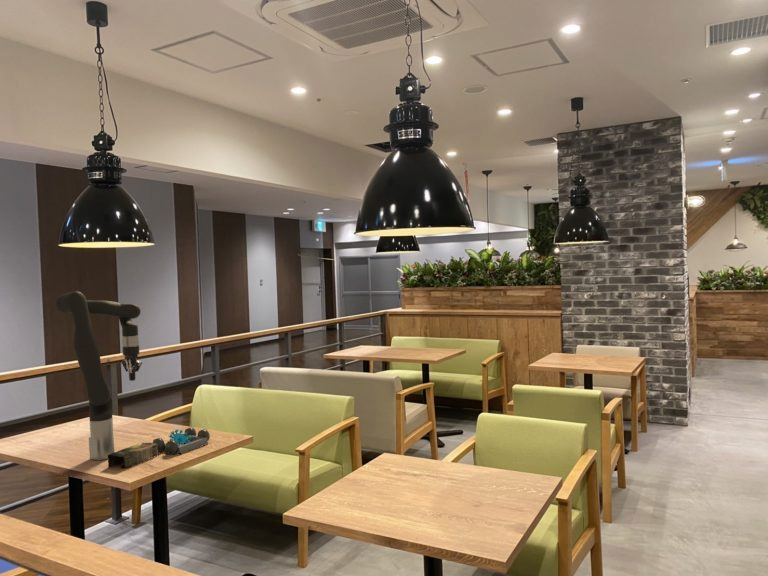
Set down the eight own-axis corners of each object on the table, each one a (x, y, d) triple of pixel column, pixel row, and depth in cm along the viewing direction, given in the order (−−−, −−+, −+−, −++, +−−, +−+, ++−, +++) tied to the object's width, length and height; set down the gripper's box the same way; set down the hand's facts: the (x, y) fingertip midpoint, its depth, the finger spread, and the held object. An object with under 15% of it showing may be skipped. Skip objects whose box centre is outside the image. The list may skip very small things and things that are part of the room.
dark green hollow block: (144, 452, 264) (143, 439, 264) (160, 455, 260) (159, 441, 260) (107, 468, 246) (106, 454, 246) (124, 470, 242) (123, 456, 242)
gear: (174, 447, 264) (167, 429, 269) (168, 455, 266) (161, 437, 271) (195, 444, 272) (188, 427, 277) (190, 452, 275) (183, 435, 280)
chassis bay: (176, 455, 258) (175, 442, 258) (152, 451, 266) (152, 438, 265) (211, 442, 275) (210, 430, 275) (188, 438, 283) (187, 426, 283)
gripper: (115, 345, 283) (117, 380, 283) (132, 346, 276) (134, 382, 276) (128, 343, 289) (130, 378, 290) (146, 344, 282) (147, 380, 283)
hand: (132, 380), depth 283 cm, fingers closed
